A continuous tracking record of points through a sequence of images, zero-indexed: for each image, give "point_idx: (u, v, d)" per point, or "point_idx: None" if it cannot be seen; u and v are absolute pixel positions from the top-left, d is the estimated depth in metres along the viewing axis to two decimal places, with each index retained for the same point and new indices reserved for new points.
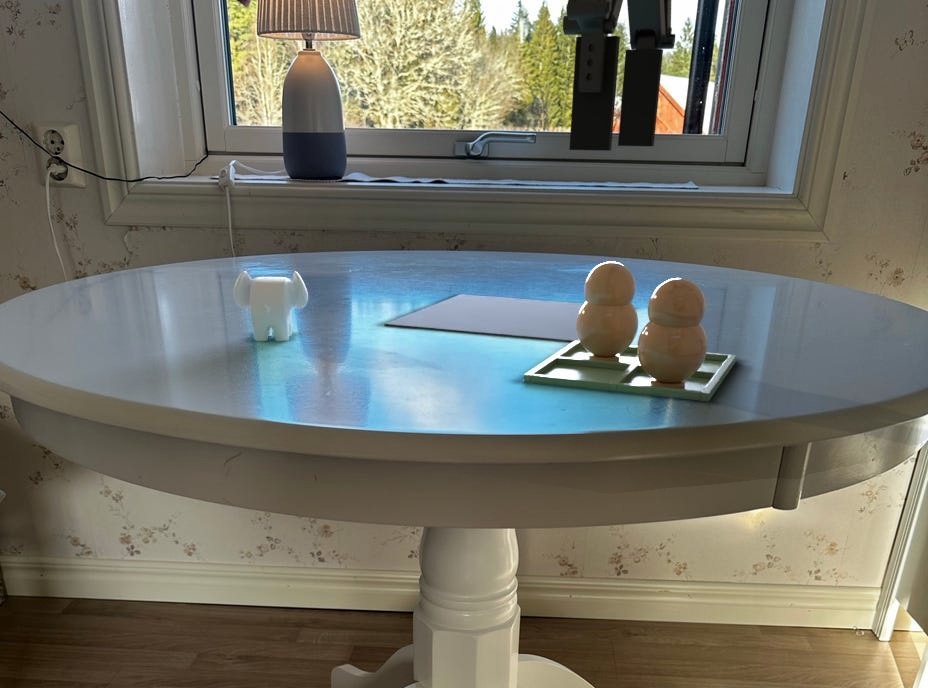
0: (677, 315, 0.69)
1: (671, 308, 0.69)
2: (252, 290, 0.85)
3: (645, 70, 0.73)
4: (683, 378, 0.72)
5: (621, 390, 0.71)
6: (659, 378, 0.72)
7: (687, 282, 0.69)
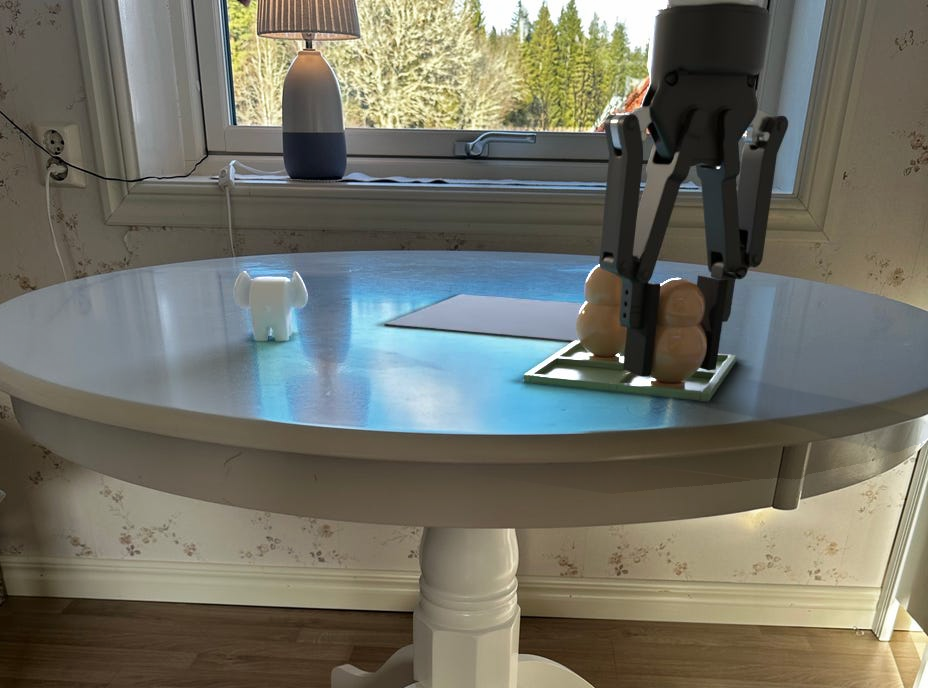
0: (677, 315, 0.69)
1: (671, 308, 0.69)
2: (252, 290, 0.85)
3: (708, 297, 0.71)
4: (683, 378, 0.72)
5: (621, 390, 0.71)
6: (659, 378, 0.72)
7: (687, 282, 0.69)
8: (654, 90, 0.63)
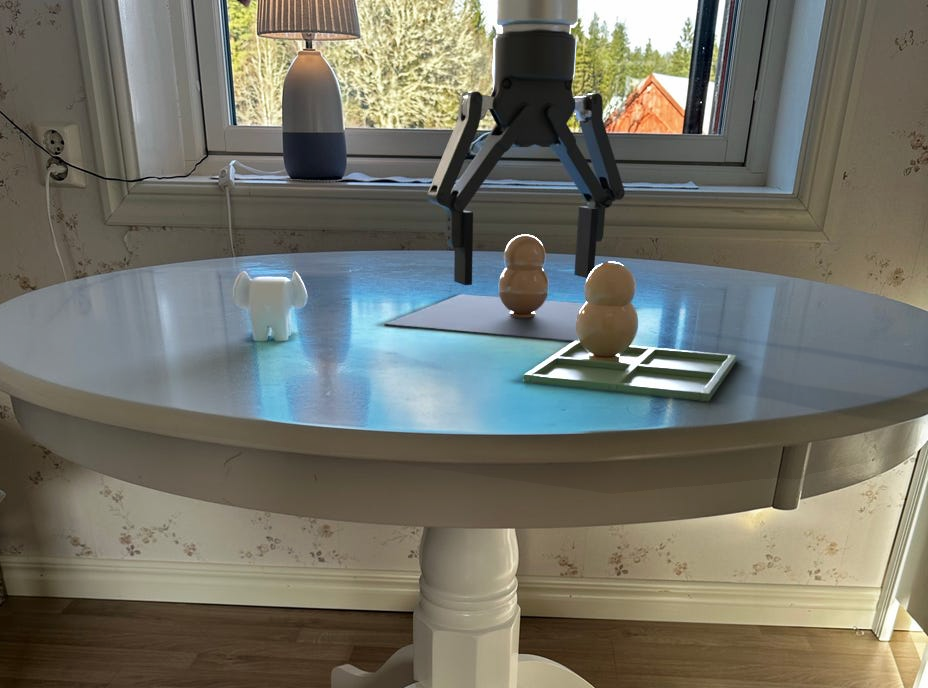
0: (522, 261, 0.94)
1: (517, 256, 0.94)
2: (251, 290, 0.85)
3: (585, 222, 0.96)
4: (531, 310, 0.97)
5: (621, 390, 0.71)
6: (513, 310, 0.97)
7: (530, 237, 0.94)
8: (496, 92, 0.87)
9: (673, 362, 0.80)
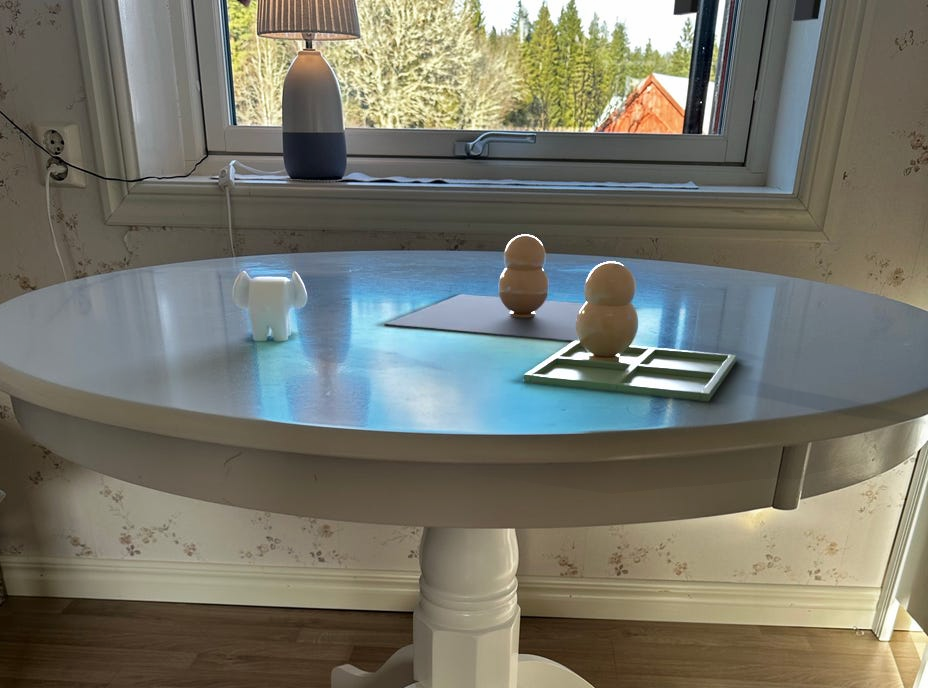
0: (522, 261, 0.94)
1: (517, 256, 0.94)
2: (251, 290, 0.85)
3: None
4: (531, 310, 0.97)
5: (621, 390, 0.71)
6: (513, 310, 0.97)
7: (530, 237, 0.94)
8: None
9: (673, 362, 0.80)
